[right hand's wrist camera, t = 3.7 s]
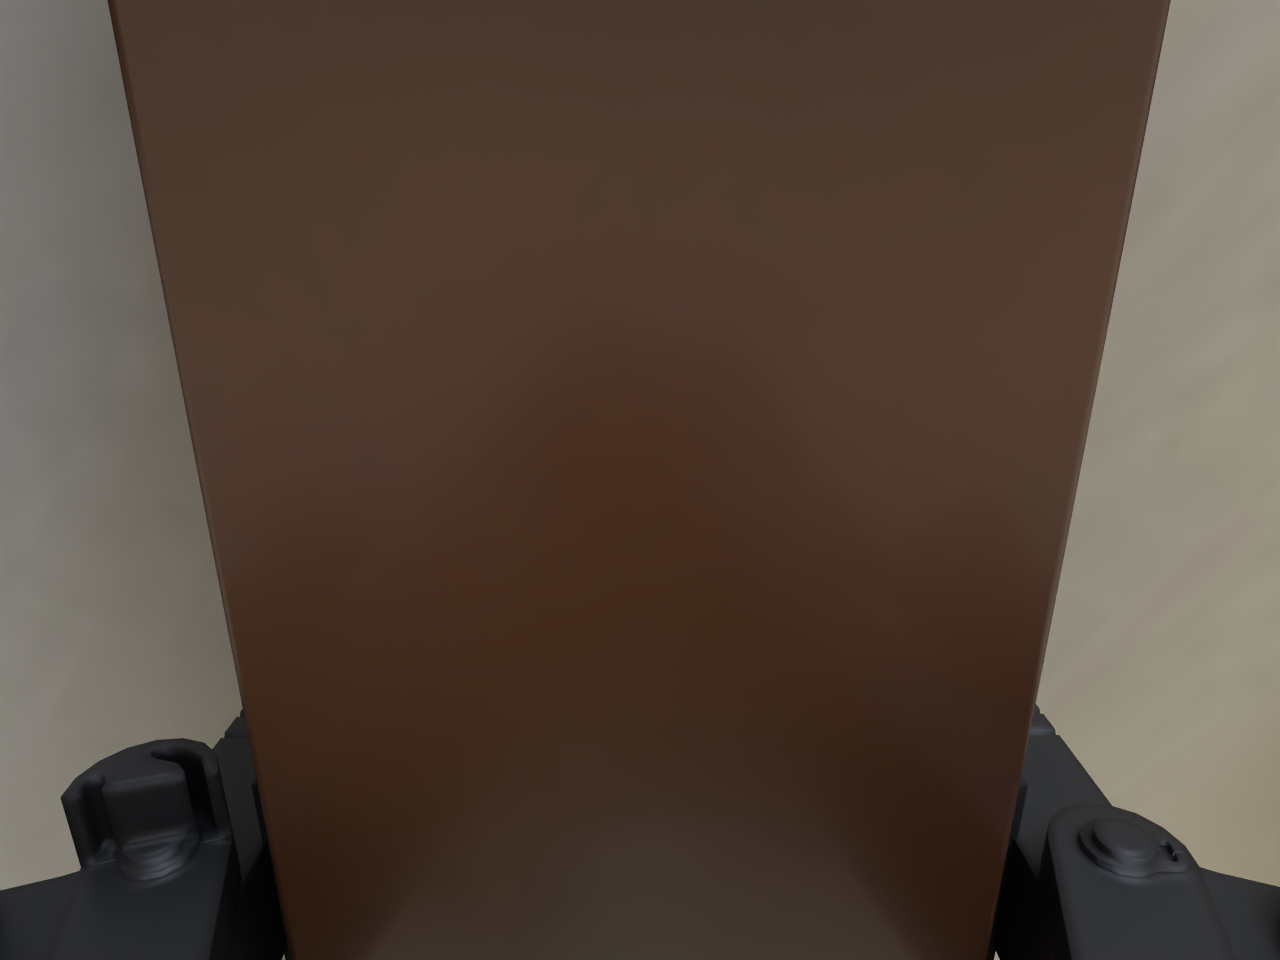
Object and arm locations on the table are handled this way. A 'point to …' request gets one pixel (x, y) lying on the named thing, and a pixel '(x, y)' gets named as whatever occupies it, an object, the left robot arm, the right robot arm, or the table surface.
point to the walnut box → (638, 446)
